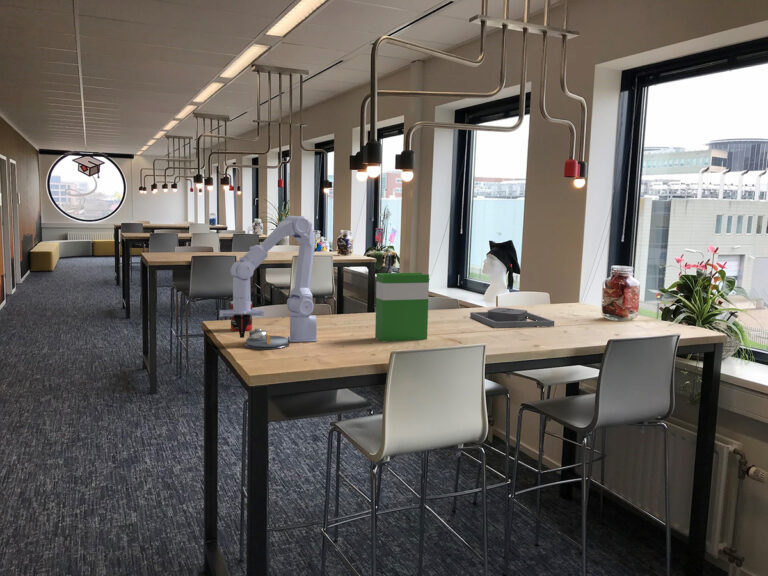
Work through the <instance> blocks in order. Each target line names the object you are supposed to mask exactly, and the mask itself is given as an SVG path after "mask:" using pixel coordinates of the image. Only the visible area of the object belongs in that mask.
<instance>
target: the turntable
mask: <svg viewBox="0 0 768 576" xmlns="http://www.w3.org/2000/svg"><path fill="white" fill-rule="evenodd" d="M288 342H289V339H288V337H285V336H280V335H271V334H270V333H269V332H267V333H266V341H250V340H249V337H248V338H246V340H245V343H246V344H247V345H249V346H254V347H277V346H283V345H286V344H288Z"/></svg>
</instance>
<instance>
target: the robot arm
mask: <svg viewBox="0 0 768 576" xmlns="http://www.w3.org/2000/svg"><path fill="white" fill-rule="evenodd" d="M274 228H275V229H273V230H272V231H271V233H270V234H269V235H268V236H267V237H266V238H265V239H264V240H263V242H261V244H255V245H254V246H252V245H251V246H249V251H247V252H246V253H245V254H244V255H243V256H240V258H239V260H238V261H235V262H234V263H232V265H231V267H230V269H229V273H230V274H231V276H232V282H233V283H232V301H233V310H231V309H220V310H219V318H221V317H223V318H224V317H231V316H234V320H235V322H236V324H237V327H238V330H239V332H238V334H239V338H240V339H243V338H245V334H246V332H245V330H246V327H247V324H248V322H249V320H250V316H252V317H258V316H259V317H260V316H261V317H264V316H265V310H264V309H259V308H258V309H253V308H252V309H251V302H252V301H251V299H252V298H251V277H253V275H254V271H255V270H256V269H257V268H258V267H259V266H260V265H261V264H262V263H263V262H264V261H265V260H266V259H268V253H269V251H270V250H272V248H273V247H275V246H276V245H277V244H278V243H279V242H280V241H282V240H283V238H285V237H291V236H292V237H293V238H294V239H295V240H296V241H297V242H298V243H299V247H298V254H297V264H296V269H295V270H296V273H295V280H294V287H293V289H292V290H291V291H290V296H289V298H288V299H287V302H286V307H287V310H288V311H289V336H287V339H288V342H289V343H297V342H298V343H299V342H303V343H305V342H317V341H318V340H317V335H318V334H317V333H318V331H317V329H318V326H317V315H311V314H312V313H313V311H314V308H315V307H314V301H313V294H312V292H311V289H310V288H311V280H312V273H313V263H314V257H315V248H316V237H315V233H314V230H313V223H312V222H311V220H309V218H308V217H306V216H304V215H299V216H298V215H288V216H286V217H285V218H284V219H283V220H281V221H280V222H279V223H278V225H277V226H276V227H274ZM241 316H242V319H241ZM241 320H242V323H243V327H242V328H241Z"/></svg>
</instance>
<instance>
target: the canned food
mask: <svg viewBox="0 0 768 576" xmlns="http://www.w3.org/2000/svg"><path fill="white" fill-rule="evenodd" d="M251 309H253V301H251ZM230 310H233V300H232V301H230ZM241 319H242V316H241ZM242 327H243V323H242V320H241V328H242ZM252 328H253V316H250V320H249V322H248V324H247V327H246V330H245V331H246V332H249V331H250V330H251V331H252V330H253V329H252ZM230 330H231V331H232V330H233V331H232V332H235V331H239V330H238V327H237V324H236V322H235V320H234V316H230Z"/></svg>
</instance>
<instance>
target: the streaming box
mask: <svg viewBox="0 0 768 576" xmlns="http://www.w3.org/2000/svg"><path fill="white" fill-rule="evenodd" d="M487 312H488V314H487V318H488V319H490V320H493V321H495V322H514V321H528V318H527V312H528V310H526V309H518V308H509V307H495V308H491V309H487Z"/></svg>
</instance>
